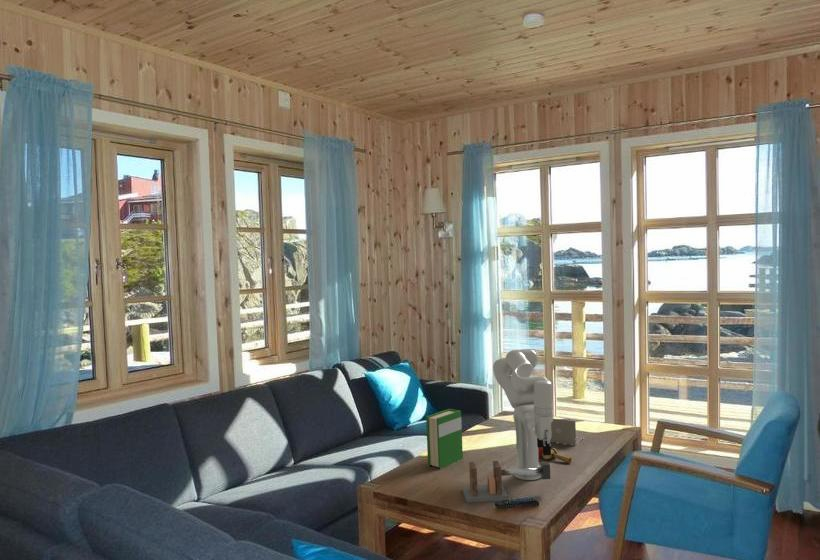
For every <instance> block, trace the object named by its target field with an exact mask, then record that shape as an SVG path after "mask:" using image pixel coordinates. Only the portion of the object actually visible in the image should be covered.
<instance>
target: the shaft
mask: <svg viewBox="0 0 820 560" xmlns="http://www.w3.org/2000/svg"><path fill="white" fill-rule="evenodd" d="M539 463H540V464H539V465H540V466H541V468H524V469H517V468H510V469H509V468H507V469H505V468H504V469H501V477H503V476H514V475H526V474H541V479H542V480H551V464H550V463H549V461H539Z"/></svg>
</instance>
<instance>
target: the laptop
mask: <svg viewBox="0 0 820 560" xmlns="http://www.w3.org/2000/svg"><path fill="white" fill-rule="evenodd" d="M576 438H577V432H576V420H569V419H568V420H567V419H558V418H553V421H552V423H551V439H550V441H551V442H558V443H557V444H559V443H565V444H564V445H566V444H572V445H571V446H574V445H576ZM580 438H581V437H580ZM581 439H583V438H581ZM545 441H547V440H545ZM576 446H577V445H576Z"/></svg>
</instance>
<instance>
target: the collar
mask: <svg viewBox="0 0 820 560" xmlns="http://www.w3.org/2000/svg"><path fill="white" fill-rule="evenodd" d="M486 477H487V478H486V480H487V485H488V491H489V493H490V494H496V486H495V478H494V474H493V473H488V474H486Z"/></svg>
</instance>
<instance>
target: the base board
mask: <svg viewBox="0 0 820 560" xmlns="http://www.w3.org/2000/svg"><path fill="white" fill-rule="evenodd" d="M461 491H462V493H463V496H464V499H466V500H465V503H466V502H468V503H484V502H485V503H487V502H488V503H489V502H503V501H502V500H508V501H509V495H508V493H507V491H506V489H505V487H504V485H503V484H502V494H498V495H497V493H496V494H490V493H489V491H488V484H485V485H484V484H483V485H482V484H481V485H477V491H478V496H473V495H472V492H471V489H470V485H467V486H466V485H465V486H464V485H462V490H461ZM468 503H467V504H468Z"/></svg>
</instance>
